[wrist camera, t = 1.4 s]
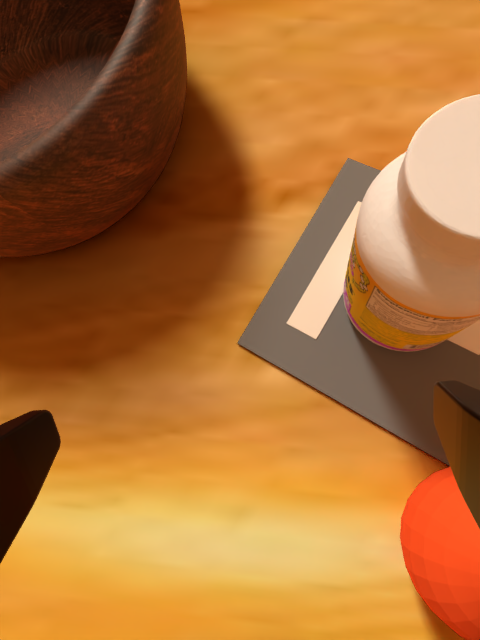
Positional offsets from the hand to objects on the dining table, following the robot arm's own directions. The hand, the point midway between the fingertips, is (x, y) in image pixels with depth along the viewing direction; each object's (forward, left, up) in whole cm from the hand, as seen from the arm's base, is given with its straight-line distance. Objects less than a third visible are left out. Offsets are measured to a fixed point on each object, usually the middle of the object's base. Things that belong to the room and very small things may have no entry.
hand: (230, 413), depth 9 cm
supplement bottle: (-3, -9, -14) cm, 17 cm away
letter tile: (-3, -9, -14) cm, 17 cm away
